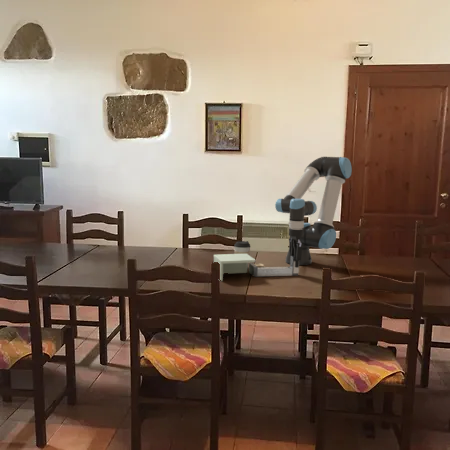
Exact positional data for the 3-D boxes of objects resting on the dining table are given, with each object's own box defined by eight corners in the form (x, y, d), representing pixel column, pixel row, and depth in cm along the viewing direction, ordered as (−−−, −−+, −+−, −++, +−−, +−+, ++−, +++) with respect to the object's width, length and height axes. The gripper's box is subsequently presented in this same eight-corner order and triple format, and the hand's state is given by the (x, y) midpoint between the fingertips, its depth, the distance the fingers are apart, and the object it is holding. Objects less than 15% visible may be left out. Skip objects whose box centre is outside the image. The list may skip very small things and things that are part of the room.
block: (260, 272, 275) (261, 263, 274) (263, 275, 270) (264, 265, 269) (251, 272, 274) (252, 263, 273) (254, 275, 269) (255, 265, 268)
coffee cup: (236, 270, 278) (236, 243, 276) (231, 266, 287) (232, 240, 285) (252, 269, 281) (252, 242, 278) (246, 265, 289) (247, 239, 287)
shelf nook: (246, 272, 275) (246, 253, 274) (254, 279, 261) (255, 259, 259) (213, 273, 271) (213, 254, 269) (220, 281, 256) (220, 261, 255)
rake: (291, 271, 279) (292, 253, 278) (298, 275, 271) (299, 256, 269) (248, 272, 273) (249, 253, 271) (253, 276, 264) (255, 257, 263)
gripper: (283, 226, 275) (282, 268, 279) (295, 231, 259) (293, 276, 263) (296, 225, 277) (295, 268, 280) (309, 231, 261) (307, 275, 265)
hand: (294, 272), depth 272 cm, fingers closed on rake, 3 cm apart
